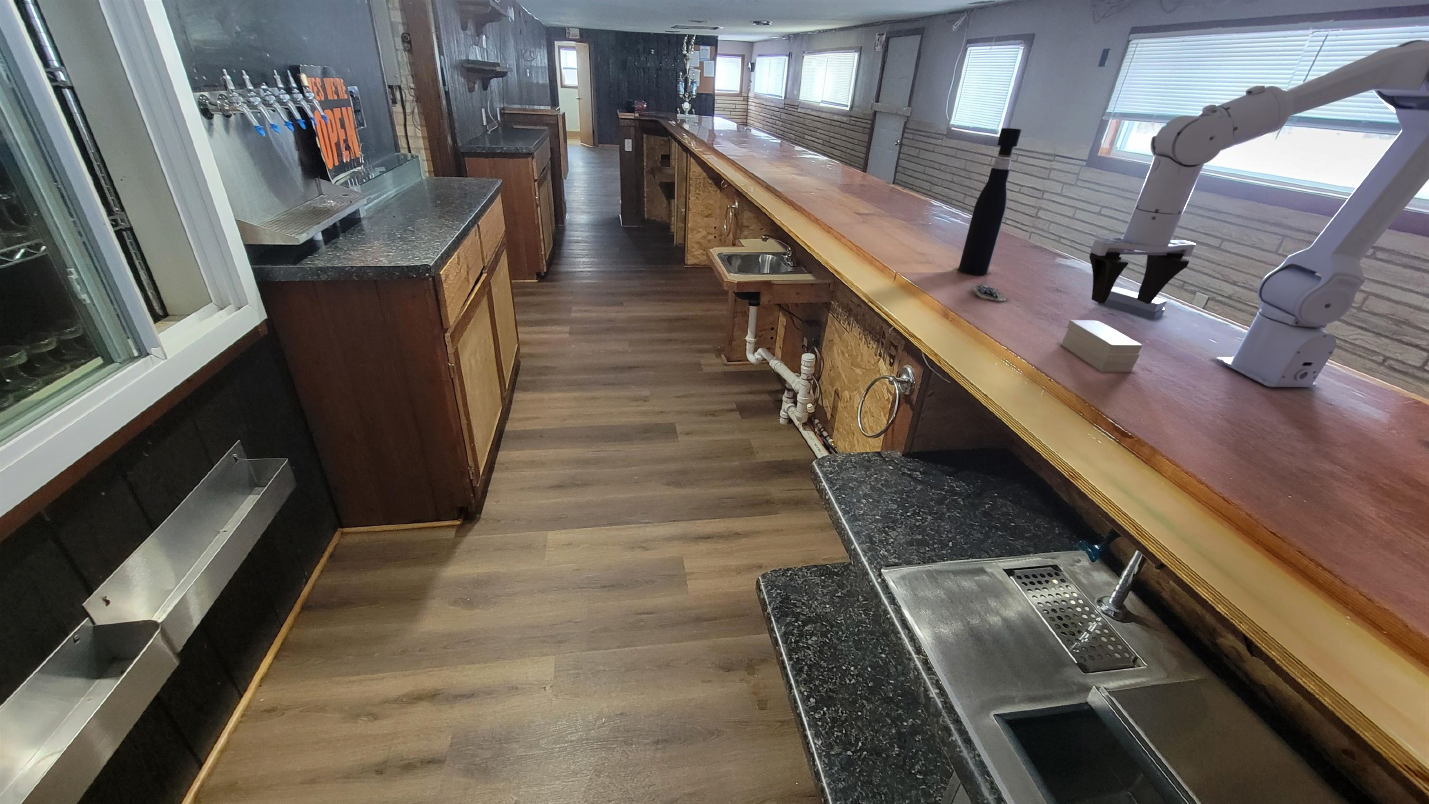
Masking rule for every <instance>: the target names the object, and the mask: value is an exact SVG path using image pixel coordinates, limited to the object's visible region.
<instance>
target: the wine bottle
mask: <svg viewBox="0 0 1429 804" xmlns="http://www.w3.org/2000/svg"><path fill="white" fill-rule="evenodd" d="M1022 131H1023V130H1022V128H1013V127H1012V128H1011V127H1002V128H1001V129H1000V133H999V137H998V140H997V146H1000V147H999V150H998V153H997V157H998V158H995V160H993V162H994V164H993V165H992V166H993V167H991V168H990V171H989V176H988V179H987V181H986V183H985V184H984V186H983V189H982V190H981V192H980V193H979V195H978V198H977V199H976V202H975V204H974V208H973V210H972V211H973V212H972V215H971V219H970V223H969V226H968V230H967V234H966V238H965V241H964V246H963V250H962V254H961V257H960V262H959V265H958V270H959V271H960V272H962V273H964V274H967V275H973V276H985V275H988V273H989V270H990V266H991V264H992V260H993V256H994V253H995V249H996V246H997V242H998V239H999V236H1000V231H1001V228H1002V225H1003V222H1004V218H1005V215H1006V211H1007V205H1008V185H1007V183H1008V180H1009V177H1010V172H1011V169H1010V167H1011V164H1012V160H1011V159H1009V158H1011V157H1012V153H1013V150H1014V148H1016V147H1018V145H1019V142H1020V138H1021V134H1022Z"/></svg>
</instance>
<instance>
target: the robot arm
mask: <svg viewBox="0 0 1429 804" xmlns="http://www.w3.org/2000/svg"><path fill="white" fill-rule="evenodd" d="M1369 91H1372V92H1373V93H1374V94H1375V96H1376V97H1378V99H1380V101H1382V102H1383V104H1385V105H1386V106H1387V107H1388V108H1389V109H1390V110H1391V111H1392V112H1393V113H1394V114H1395V115H1396V119H1397V121H1398V123H1399V126H1400V132H1399V133H1398V134H1397V136H1396V137H1395V138H1394V139H1393V141H1392V142H1391V143H1390V145H1389V146H1388V147H1387V149H1385V151H1384V152H1383V154H1382V155H1381V156H1380V158H1379V159H1378V160H1377V161H1376V162H1375V164H1374V165H1373V167H1372V168H1371V169H1370V170H1369V171H1368V173H1367V174H1366V175H1365V176H1364V178H1363V179H1362V180H1361V181H1360V183H1359V184H1358V185H1357V187H1356V188H1355V189H1354V191H1353V192H1352V193H1351V195H1350V196H1349V197H1348V199H1346V201H1344V203H1343V205H1342V206H1341V207H1340V208H1339V210H1338V211H1337V212H1336V213H1335V214H1334V216H1333V217H1332V219H1331V220H1330V221H1329V222H1328V224H1327V225H1326V226H1325V228H1324V229H1323V230H1322V231H1321V233H1320V234H1319V235H1318V236H1317V238H1316V239H1315V240H1314V242H1313V243H1312V244H1311V245H1310V247H1307V248H1304V249H1303V250H1300V251H1297V252H1295V253H1293V254H1292V253H1291V254H1290V255H1288V256H1287V257H1286V259H1285V260H1284V261H1283V262H1282V263H1281V264H1280V265H1279V266H1278V267H1277V268H1275V269H1274V270H1272V271H1271V272H1269V273H1268V274H1267V275H1266V276H1264V277H1263V278H1262V280H1261V281H1260V283H1259V284H1258V287H1257V291H1256V294H1257V298H1258V300H1259V301H1260V303H1259V304H1258V306H1257V309H1258V312H1257V314H1256V315H1255V318H1254V319H1253V321H1252V323H1251V325H1250V326H1249V328H1248V330H1247V332H1246V333H1245V336H1244V337H1243V339H1242V341H1241V342H1240V344H1239V346H1238V348H1237V350H1236V352H1235V354H1234V356H1232V357H1231V356H1230V357H1229V356H1228V357H1227V356H1223V357H1222V356H1221V357H1220V356H1219V357H1216V358H1215V361H1217V362H1218V363H1221V364H1222V365H1225V366H1226V367H1229V368H1231V369H1232V370H1234V371H1236V372H1238V373H1241V374H1242V375H1244V376H1246V377H1247V378H1250V379H1252V380H1254V381H1255V382H1257V383H1260V384H1262V385H1264V386H1266V387H1269V388H1315V387H1317V383H1316V380H1317V378H1318V377H1319V376H1320V373H1321V372H1322V370H1323V369H1324V367H1325V366H1326V364H1327V362H1328V361H1329V359H1330V358H1331V357H1332V355H1333V353H1334V352H1335V349H1336V346H1337V339H1336V337H1335V336H1334V335H1333V334H1331V333H1329V332H1328V331H1326V330H1325V329H1326V327H1327V326H1328V325H1329V324H1332V323H1334V322H1336V321H1338V320H1340V319H1341V318H1342V317H1344V316H1345V315H1346V314H1347V313H1348V312H1349V311H1350V310H1351V308H1352V306H1353V304H1354V301H1355V298H1356V295H1357V293H1358V291H1359V289H1360V288H1361V287H1362V286H1363V285H1364V284H1365V282H1366V279H1365V275H1364V271H1363V269H1362V266H1361V261H1362V259H1363V258H1364V257H1365V256H1366V255H1367V254H1368V253H1369V251H1370V250H1371V249H1372V248H1373V247H1374V245H1375V244H1376V243H1377V241H1379V239H1381V237H1382V235H1383V234H1384V233H1386V231H1387V229H1388V228H1389V227H1390V226H1391V225H1392V224H1393V223H1394V221H1395V220H1396V219H1397V218H1398V217H1399V215H1401V213H1402V212H1403V211H1404V209H1405V208H1406V207H1407V206H1408V205H1409V203H1410V202H1411V201H1412V200H1413V199H1414V197H1415V196H1416V195H1417V194H1418V193H1419V191H1421V189H1422V188H1423V187H1424V186H1425V184H1426V183H1428V181H1429V40H1425V39H1424V40H1423V39H1413V40H1408V41H1405V42H1403V43H1400V44H1398V45H1396V46H1391V47H1387V48H1383V49H1379V50H1377V51H1375V52H1373V53H1371V54H1369V55H1366V56H1364V57H1362V58H1360V59H1357V60H1356V61H1352V62H1350V63H1348V64H1345V65H1343V66H1340V67H1338V68H1336V69H1335V68H1334V69H1333V70H1330V71H1328V72H1326V73H1323V74H1321V75H1318V76H1316V77H1314V78H1311V79H1310V80H1309V79H1308V80H1306V81H1304V82H1302V83H1300V84H1297V85H1294V86H1291V87H1290V88H1287V89H1282V88H1281V87H1278V86H1275V85H1268V86H1265V85H1254V86H1251V87H1249V88H1247V89H1245V95H1242V96H1240V97H1237V98H1233V99H1232V100H1229V101H1227V102H1224V103H1221V104H1218V105H1216V104H1208V105H1205V106H1203V107H1202V108H1201V112H1200V113H1198V115H1181V116H1177V117H1175V118H1172V119H1171V120H1169V121H1168V122H1166V123H1165V125H1164V126H1162V127H1161V128H1160V129H1159V131H1158V132H1157V134H1156V135H1153V136H1152V137H1151V139H1150V151H1151V154H1152V156H1153V158H1152V161H1151V164H1150V167H1149V170H1148V173H1147V175H1146V178H1145V180H1144V183H1143V184H1142V188H1141V190H1140V193H1139V195H1138V198H1137V201H1136V203H1135V206H1134V208H1133V211H1132V213H1131V216H1130V218H1129V221H1128V223H1127V226H1126V228H1125V231H1124V234H1121V235H1120V236H1119V237H1110V238H1095V239H1094V241H1093V243H1092V246H1091V248H1090V251H1089V252H1090V253H1089V261H1090V265H1091V271H1092V290H1091V291H1092V292H1091V300H1092V301H1094V302H1095V303H1097V304H1098V303H1100V304H1104V303H1105V302H1106V300H1107V298H1108V296H1109V294H1110V292H1111V290H1112V287H1113V286H1114V285H1115V283H1116V281H1117V280H1118V278H1119V277H1120V275H1121V274H1122V273H1123V271H1124V270H1125V269H1126V267H1127V266H1128V265H1129V262H1128V261H1125V260H1123V259H1122V256H1121V255H1123V256H1146V267H1145V271H1144V276H1143V279H1142V281H1141V283H1140V286H1139V289H1138V296H1137V300H1139V301H1141V302H1144V303H1146V304H1150V303H1151V302H1152V301H1153V300H1154V298H1155V297H1156V298H1157V296H1158V295H1159V294H1160V292H1161V291H1162V290H1163V289H1164V287H1165V286H1166V285H1167V284H1168V283H1169V282H1170V281H1171V280H1173V278H1175V277H1176V276H1177V275H1178V274H1179V273H1180V272H1182V271H1183V270H1184V269H1186V268H1187V267H1188V266H1189V263H1190V260H1189V259H1187V258H1191V256H1192V255H1193V252H1194V249H1195V248H1196V246H1197V243H1194V242H1191V241H1188V240H1180V239H1179V240H1177V239H1173V238H1174V237H1173V236H1174V235H1175V232H1176V230H1177V227H1178V225H1179V223H1180V221H1181V219H1182V216H1183V213H1184V212H1185V210H1186V207H1187V204H1188V202H1189V200H1190V197H1191V196H1192V193H1193V191H1194V188H1195V186H1196V184H1197V182H1198V179H1199V177H1200V174H1201V173H1202V170H1203V167H1204V166H1205V164H1207V163H1209V162H1211V161H1212V160H1214V158H1216V157H1217V156H1218V155H1219V154H1220V153H1221V151H1224V150H1227V149H1230V148H1233V147H1235V146H1238V145H1242V144H1244V143H1247V142H1250V141H1253V140H1255V139H1259V138H1261V137H1265V136H1267V135H1270V134H1272V133H1275V132H1277V131H1279V130H1281V129H1282V128H1283V127H1284V126H1285V125H1286V124H1287V122H1288V121H1289V120H1290V118H1291V117H1292V116H1294V115H1298V114H1301V113H1304V112H1307V111H1310V110H1314V109H1317V108H1320V107H1323V106H1326V105H1329V104H1332V103H1335V102H1338V101H1342V100H1344V99H1348V98H1351V97H1354V96H1357V95H1360V94H1363V93H1366V92H1369ZM1317 273H1318V274H1319V275H1318V274H1317Z"/></svg>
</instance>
